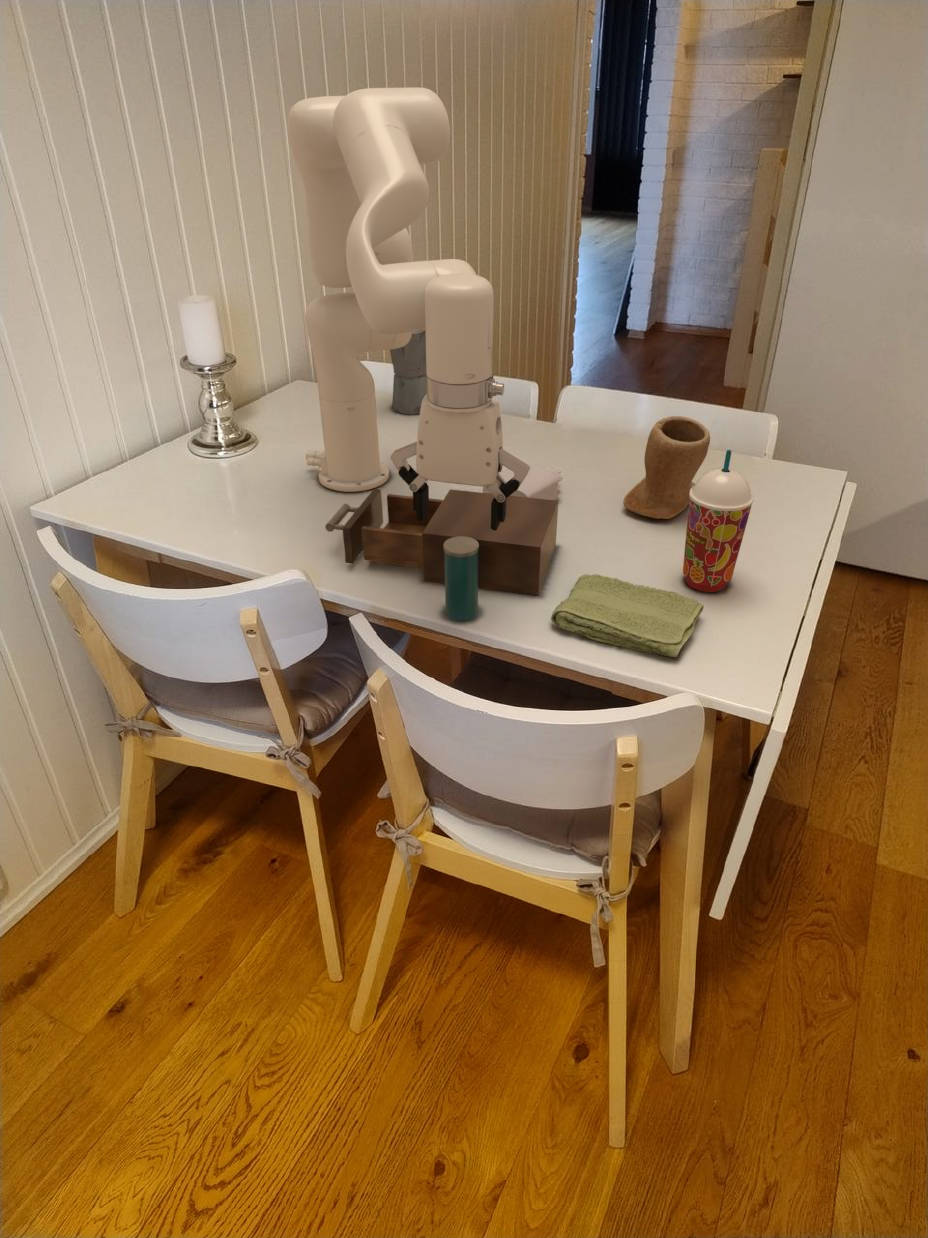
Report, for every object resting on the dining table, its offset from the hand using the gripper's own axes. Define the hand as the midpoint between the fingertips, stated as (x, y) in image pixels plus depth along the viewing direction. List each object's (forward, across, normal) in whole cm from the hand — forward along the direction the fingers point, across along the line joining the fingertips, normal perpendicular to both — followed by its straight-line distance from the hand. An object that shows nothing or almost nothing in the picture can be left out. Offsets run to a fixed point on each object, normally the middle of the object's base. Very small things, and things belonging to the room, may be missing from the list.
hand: (459, 520), depth 107 cm
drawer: (+13, +13, -13) cm, 23 cm away
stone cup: (+14, -26, -39) cm, 49 cm away
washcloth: (+14, -22, -2) cm, 26 cm away
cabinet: (+14, -2, -13) cm, 19 cm away
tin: (+14, 0, +1) cm, 14 cm away
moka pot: (+16, +30, -75) cm, 83 cm away
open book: (+14, -3, -37) cm, 40 cm away
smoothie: (+14, -32, -15) cm, 38 cm away
